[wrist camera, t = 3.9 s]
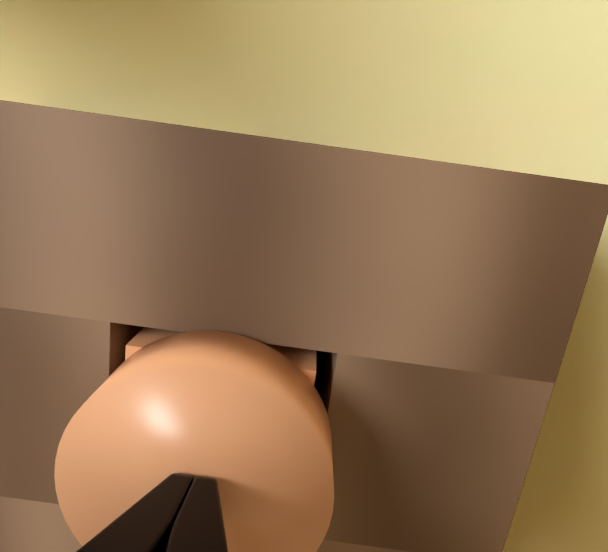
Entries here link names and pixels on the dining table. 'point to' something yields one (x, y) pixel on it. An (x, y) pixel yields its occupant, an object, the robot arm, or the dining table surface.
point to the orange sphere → (205, 438)
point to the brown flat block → (293, 306)
